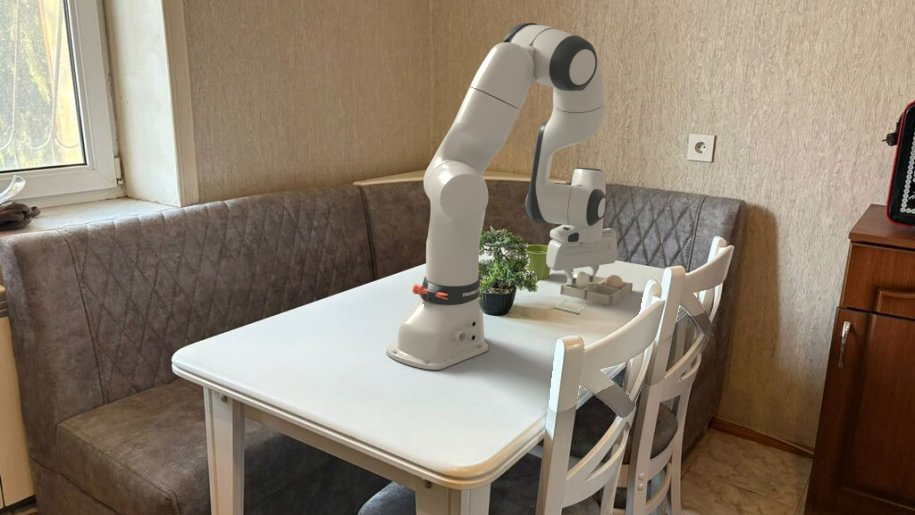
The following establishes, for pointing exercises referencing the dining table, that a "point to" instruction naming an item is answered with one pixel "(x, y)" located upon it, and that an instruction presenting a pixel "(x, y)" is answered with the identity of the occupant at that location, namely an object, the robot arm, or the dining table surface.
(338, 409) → the dining table surface
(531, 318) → the dining table surface
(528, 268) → the plant pot
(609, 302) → the egg tray
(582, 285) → the off-white ball
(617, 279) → the brown egg
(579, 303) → the glass coaster
